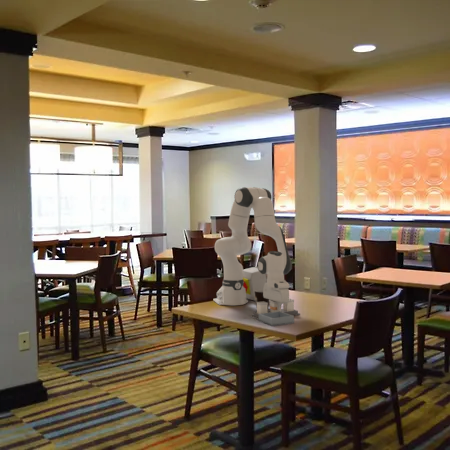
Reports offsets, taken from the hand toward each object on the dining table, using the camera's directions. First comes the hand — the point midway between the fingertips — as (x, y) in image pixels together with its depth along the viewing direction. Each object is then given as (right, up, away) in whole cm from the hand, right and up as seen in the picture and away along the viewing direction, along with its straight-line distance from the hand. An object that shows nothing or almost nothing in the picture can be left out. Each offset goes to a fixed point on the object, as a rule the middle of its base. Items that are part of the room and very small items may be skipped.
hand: (275, 309), depth 275 cm
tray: (-1, -4, -14) cm, 14 cm away
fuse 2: (+7, -2, +4) cm, 8 cm away
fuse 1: (-7, -3, -3) cm, 8 cm away
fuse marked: (0, -3, 0) cm, 3 cm away
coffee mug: (-5, -3, +20) cm, 21 cm away
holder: (0, -3, 0) cm, 3 cm away
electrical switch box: (-10, -2, +46) cm, 48 cm away
